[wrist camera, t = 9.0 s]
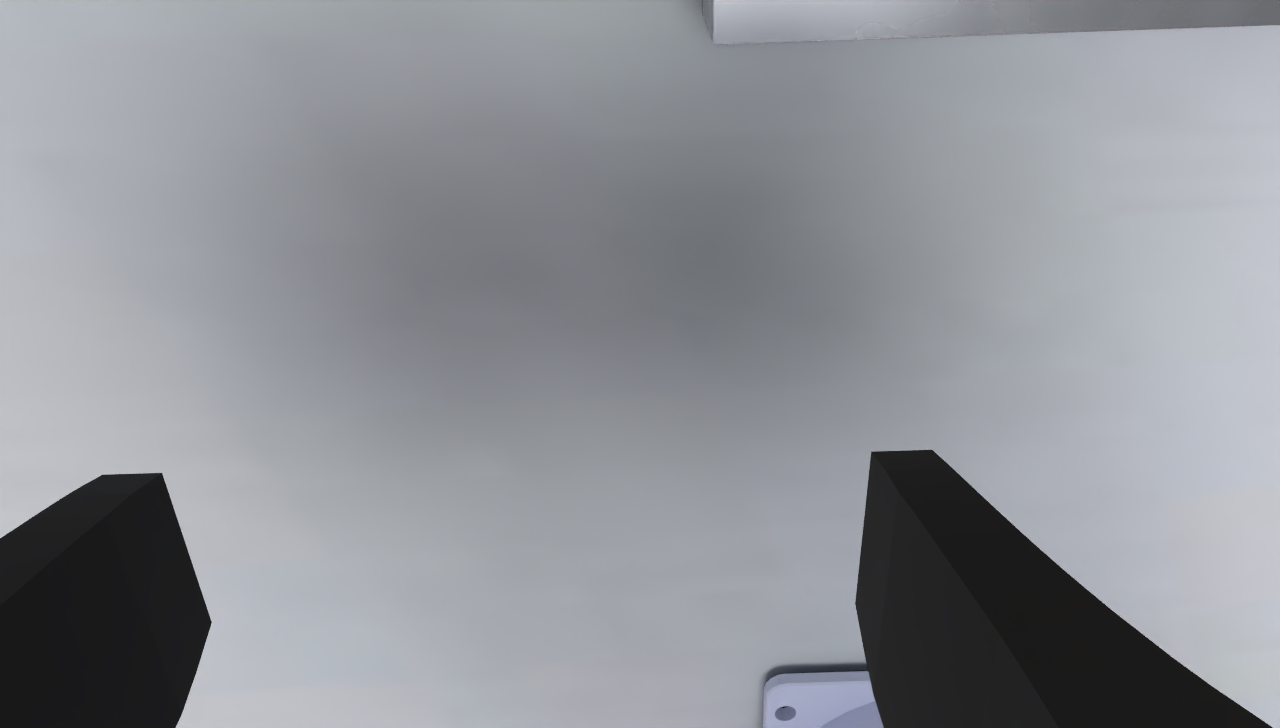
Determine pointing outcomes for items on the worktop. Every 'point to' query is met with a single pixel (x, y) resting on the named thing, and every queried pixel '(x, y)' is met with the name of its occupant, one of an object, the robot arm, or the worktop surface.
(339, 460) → the worktop surface
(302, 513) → the worktop surface
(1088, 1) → the recessed gray tray
